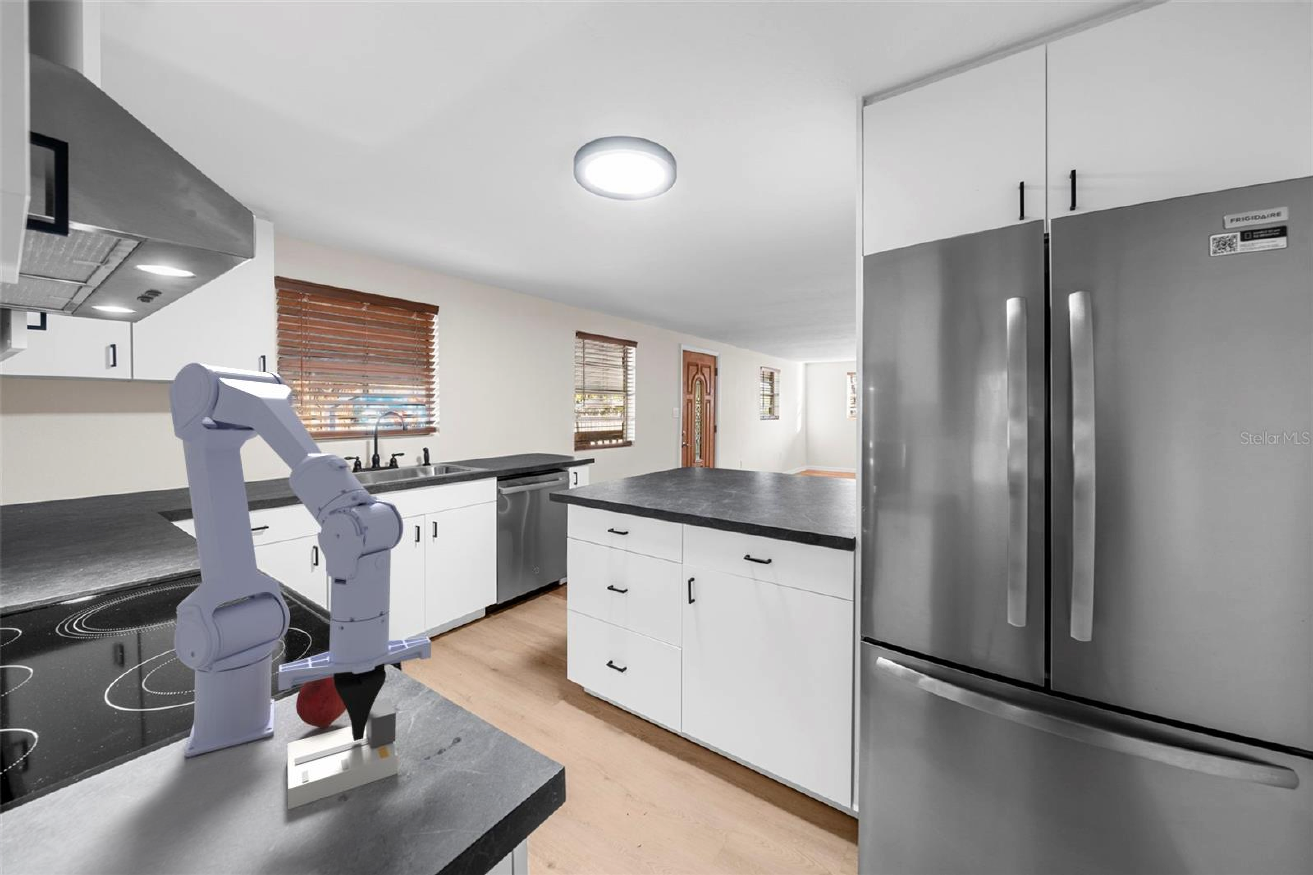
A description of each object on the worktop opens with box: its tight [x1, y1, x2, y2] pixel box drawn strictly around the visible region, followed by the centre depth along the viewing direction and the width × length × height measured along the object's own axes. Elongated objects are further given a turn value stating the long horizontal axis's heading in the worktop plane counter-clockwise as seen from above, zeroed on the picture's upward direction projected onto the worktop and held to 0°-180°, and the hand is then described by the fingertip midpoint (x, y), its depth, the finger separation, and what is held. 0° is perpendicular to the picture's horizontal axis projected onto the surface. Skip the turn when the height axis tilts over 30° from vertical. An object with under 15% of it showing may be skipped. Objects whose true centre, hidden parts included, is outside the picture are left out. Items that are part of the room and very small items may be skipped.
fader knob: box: [366, 697, 397, 748], centre depth 59 cm, size 4×2×3 cm, turn 36°
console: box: [286, 725, 399, 810], centre depth 57 cm, size 9×10×2 cm
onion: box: [295, 677, 347, 729], centre depth 64 cm, size 6×6×8 cm
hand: (357, 735), depth 58 cm, fingers closed
